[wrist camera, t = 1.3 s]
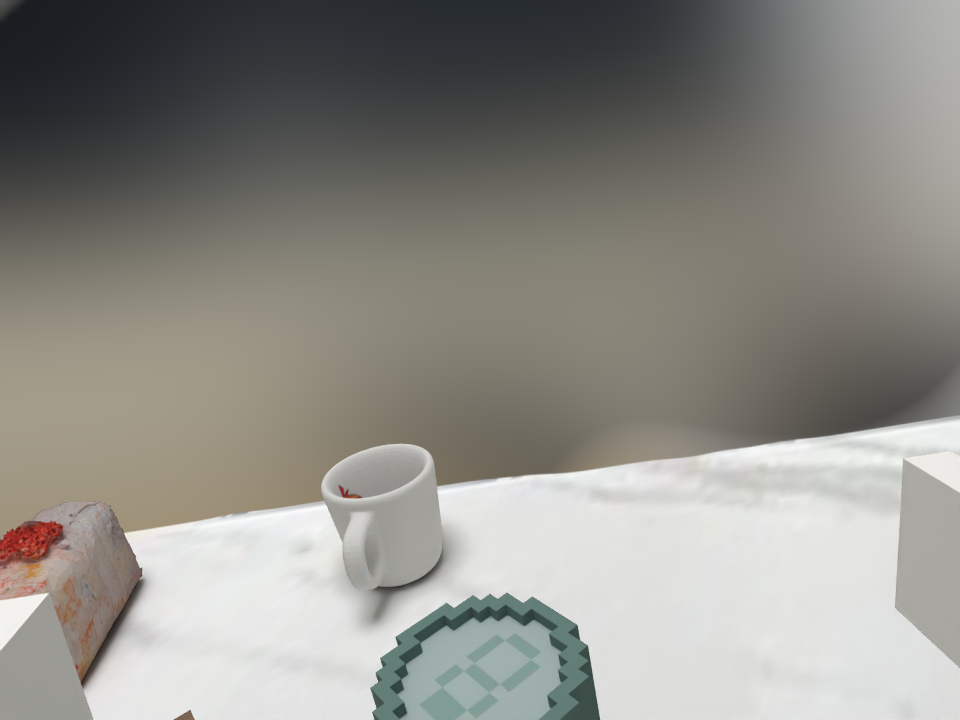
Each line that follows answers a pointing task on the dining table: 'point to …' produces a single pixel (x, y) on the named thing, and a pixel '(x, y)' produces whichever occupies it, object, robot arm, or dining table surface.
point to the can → (488, 666)
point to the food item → (72, 571)
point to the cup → (386, 514)
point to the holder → (186, 716)
